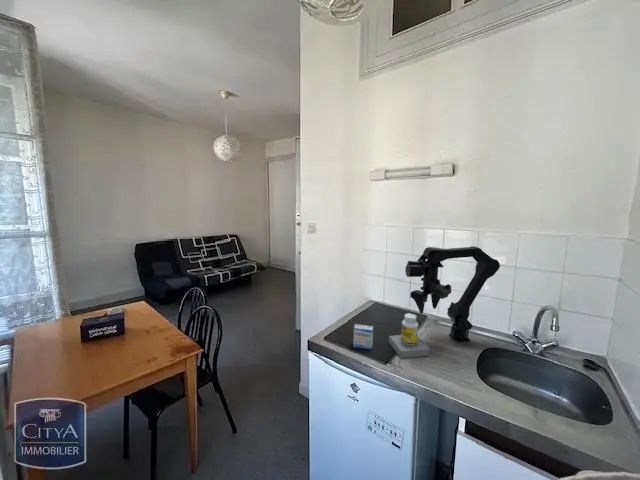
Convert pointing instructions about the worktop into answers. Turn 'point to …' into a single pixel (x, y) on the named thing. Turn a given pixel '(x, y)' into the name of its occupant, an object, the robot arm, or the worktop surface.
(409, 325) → the pill bottle
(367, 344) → the medicine box
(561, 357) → the worktop surface
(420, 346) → the riser
